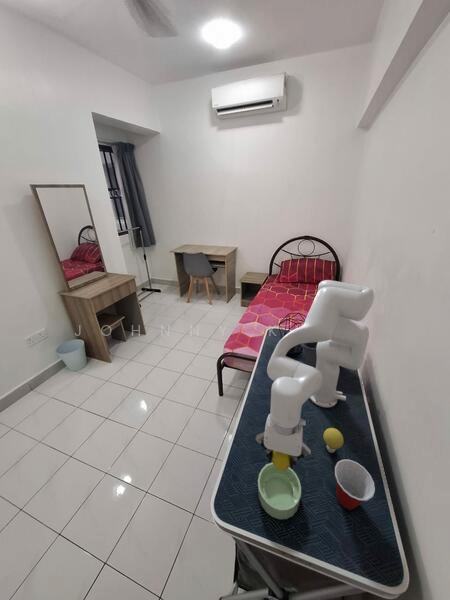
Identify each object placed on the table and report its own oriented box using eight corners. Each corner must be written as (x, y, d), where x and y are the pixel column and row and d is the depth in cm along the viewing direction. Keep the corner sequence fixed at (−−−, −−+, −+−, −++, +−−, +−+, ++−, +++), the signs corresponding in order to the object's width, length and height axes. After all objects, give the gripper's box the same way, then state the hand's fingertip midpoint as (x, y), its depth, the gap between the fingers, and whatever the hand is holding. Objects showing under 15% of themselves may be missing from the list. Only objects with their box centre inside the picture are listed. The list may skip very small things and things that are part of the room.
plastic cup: (371, 524, 70) (381, 503, 65) (332, 516, 72) (338, 495, 67) (360, 483, 79) (368, 461, 74) (326, 476, 82) (331, 455, 76)
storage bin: (298, 367, 129) (301, 345, 123) (302, 350, 142) (304, 329, 135) (342, 377, 121) (347, 354, 115) (342, 358, 134) (346, 337, 127)
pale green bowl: (300, 479, 81) (301, 468, 79) (298, 527, 70) (300, 517, 68) (261, 467, 85) (262, 457, 83) (254, 511, 74) (254, 501, 72)
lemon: (269, 457, 74) (269, 441, 70) (286, 455, 74) (288, 439, 71) (273, 477, 69) (275, 461, 65) (292, 475, 69) (294, 458, 66)
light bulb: (331, 462, 86) (335, 445, 81) (317, 446, 91) (320, 429, 86) (344, 453, 88) (349, 435, 84) (329, 437, 94) (333, 420, 89)
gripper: (319, 415, 63) (311, 456, 71) (255, 401, 68) (254, 441, 76) (320, 442, 57) (311, 484, 65) (249, 424, 62) (249, 465, 70)
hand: (281, 460), depth 70 cm, fingers closed on lemon, 5 cm apart
